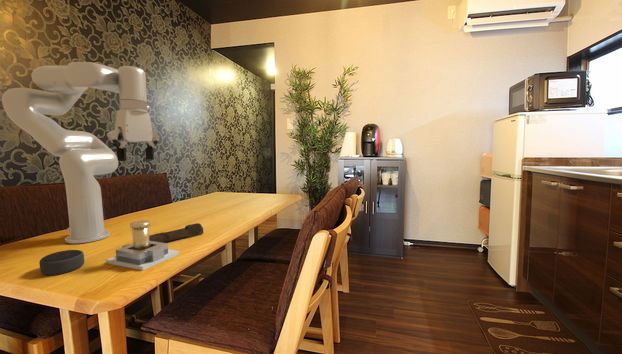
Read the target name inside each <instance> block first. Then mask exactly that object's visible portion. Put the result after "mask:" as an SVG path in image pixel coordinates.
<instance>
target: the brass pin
mask: <svg viewBox="0 0 622 354" xmlns="http://www.w3.org/2000/svg"><path fill="white" fill-rule="evenodd" d="M149 226H151V221H150V220H147V219H146V220H145V219H144V220H136V221H132V222H130V223H129V227H130V229H131V234H132V244H133V249H134V250H138V251H142V250H145V249H147V248H150V239H149V235H150V228H149Z"/></svg>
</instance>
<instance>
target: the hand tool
mask: <svg viewBox="0 0 622 354" xmlns="http://www.w3.org/2000/svg"><path fill="white" fill-rule="evenodd" d="M203 234H204V227H203V226H202V224H201V223H198V222H197V223H191V224H187V225H185V226H184V228H178V229H174V230H171V231H166V232H165V231H164V232H160V233H158V232H157V233H154V234H149V239H150V241H155V242H161V243H167V242H172V241H175V240H179V239H184V238H187V239H191V238H194V237H198V236H200V235H203Z"/></svg>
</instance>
